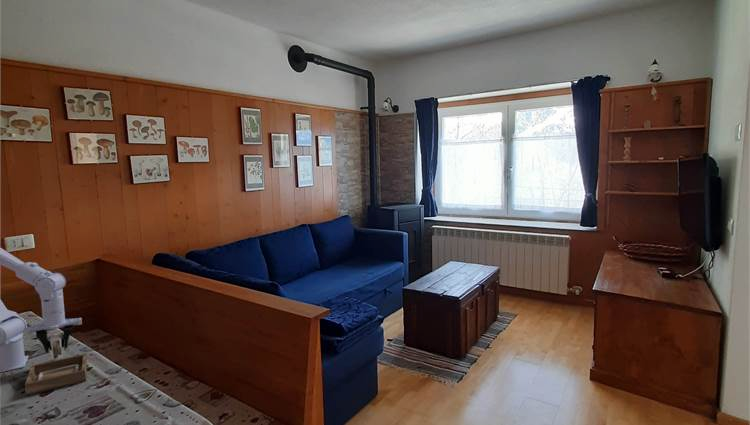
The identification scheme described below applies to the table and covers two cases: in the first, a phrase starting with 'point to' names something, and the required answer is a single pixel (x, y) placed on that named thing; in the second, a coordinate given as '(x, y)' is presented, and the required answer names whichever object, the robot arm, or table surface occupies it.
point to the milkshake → (56, 346)
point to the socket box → (56, 374)
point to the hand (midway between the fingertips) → (56, 349)
